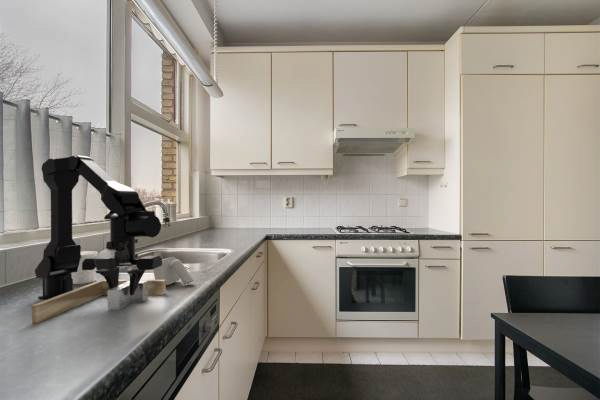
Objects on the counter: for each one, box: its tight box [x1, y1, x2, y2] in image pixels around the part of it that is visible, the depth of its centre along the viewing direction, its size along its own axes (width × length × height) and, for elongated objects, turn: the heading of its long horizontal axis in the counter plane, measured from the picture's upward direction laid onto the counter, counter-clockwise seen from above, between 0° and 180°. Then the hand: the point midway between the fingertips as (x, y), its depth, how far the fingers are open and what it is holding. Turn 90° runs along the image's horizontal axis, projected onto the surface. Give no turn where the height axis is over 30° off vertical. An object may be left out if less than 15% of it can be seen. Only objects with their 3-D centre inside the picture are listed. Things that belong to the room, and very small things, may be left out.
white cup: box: [72, 250, 99, 285], centre depth 107 cm, size 8×8×10 cm
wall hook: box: [152, 256, 194, 286], centre depth 102 cm, size 8×10×10 cm
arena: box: [31, 279, 167, 324], centre depth 81 cm, size 20×23×4 cm
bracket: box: [107, 281, 149, 311], centre depth 83 cm, size 9×6×5 cm, turn 178°
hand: (123, 295), depth 83 cm, fingers open, 4 cm apart
